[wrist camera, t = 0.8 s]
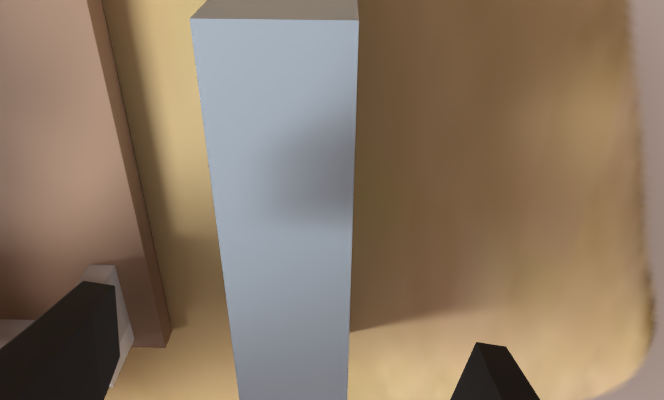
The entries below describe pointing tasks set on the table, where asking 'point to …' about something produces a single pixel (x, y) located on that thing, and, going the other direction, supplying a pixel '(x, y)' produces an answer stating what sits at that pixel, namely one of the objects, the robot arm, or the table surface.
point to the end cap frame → (70, 175)
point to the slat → (282, 185)
